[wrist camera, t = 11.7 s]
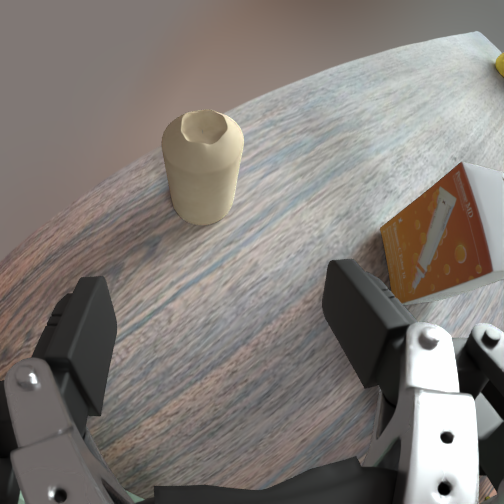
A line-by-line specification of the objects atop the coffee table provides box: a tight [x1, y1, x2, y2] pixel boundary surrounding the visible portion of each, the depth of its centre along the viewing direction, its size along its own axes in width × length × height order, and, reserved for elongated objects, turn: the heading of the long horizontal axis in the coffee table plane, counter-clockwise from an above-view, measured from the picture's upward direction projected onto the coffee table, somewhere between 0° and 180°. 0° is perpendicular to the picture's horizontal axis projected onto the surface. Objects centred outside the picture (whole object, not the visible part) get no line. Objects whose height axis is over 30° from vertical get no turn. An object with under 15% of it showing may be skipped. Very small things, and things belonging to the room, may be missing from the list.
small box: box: [380, 162, 504, 305], centre depth 22 cm, size 8×6×13 cm
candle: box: [162, 110, 244, 225], centre depth 23 cm, size 6×6×10 cm
